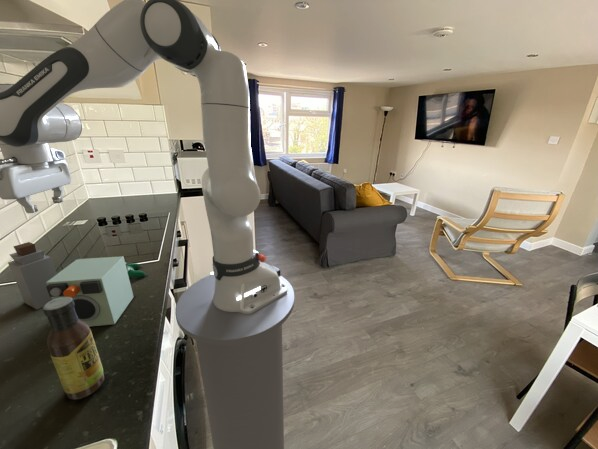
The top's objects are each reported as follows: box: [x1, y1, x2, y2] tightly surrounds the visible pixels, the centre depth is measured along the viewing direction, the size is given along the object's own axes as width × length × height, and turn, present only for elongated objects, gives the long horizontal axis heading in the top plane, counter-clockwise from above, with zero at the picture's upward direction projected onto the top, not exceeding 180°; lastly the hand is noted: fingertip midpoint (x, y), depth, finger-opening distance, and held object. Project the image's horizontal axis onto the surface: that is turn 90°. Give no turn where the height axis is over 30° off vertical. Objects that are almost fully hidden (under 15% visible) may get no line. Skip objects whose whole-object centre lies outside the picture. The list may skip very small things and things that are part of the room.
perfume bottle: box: [7, 241, 58, 310], centre depth 75 cm, size 7×7×18 cm
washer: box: [46, 255, 134, 328], centre depth 70 cm, size 14×12×14 cm
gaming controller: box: [125, 262, 146, 278], centre depth 92 cm, size 9×4×6 cm
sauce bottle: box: [42, 297, 105, 400], centre depth 49 cm, size 6×6×20 cm
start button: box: [63, 285, 80, 298], centre depth 62 cm, size 2×2×2 cm
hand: (46, 207), depth 72 cm, fingers open, 8 cm apart
